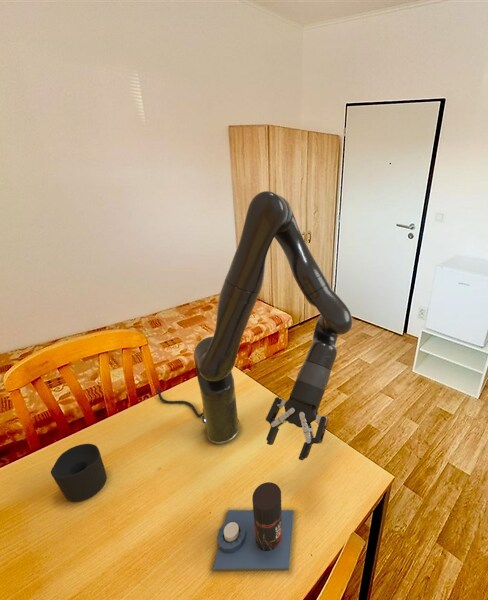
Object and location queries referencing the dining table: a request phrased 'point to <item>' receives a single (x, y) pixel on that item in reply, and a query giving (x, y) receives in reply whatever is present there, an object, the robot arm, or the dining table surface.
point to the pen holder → (79, 472)
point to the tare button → (231, 531)
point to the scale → (252, 545)
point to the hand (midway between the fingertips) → (284, 451)
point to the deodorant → (267, 516)
